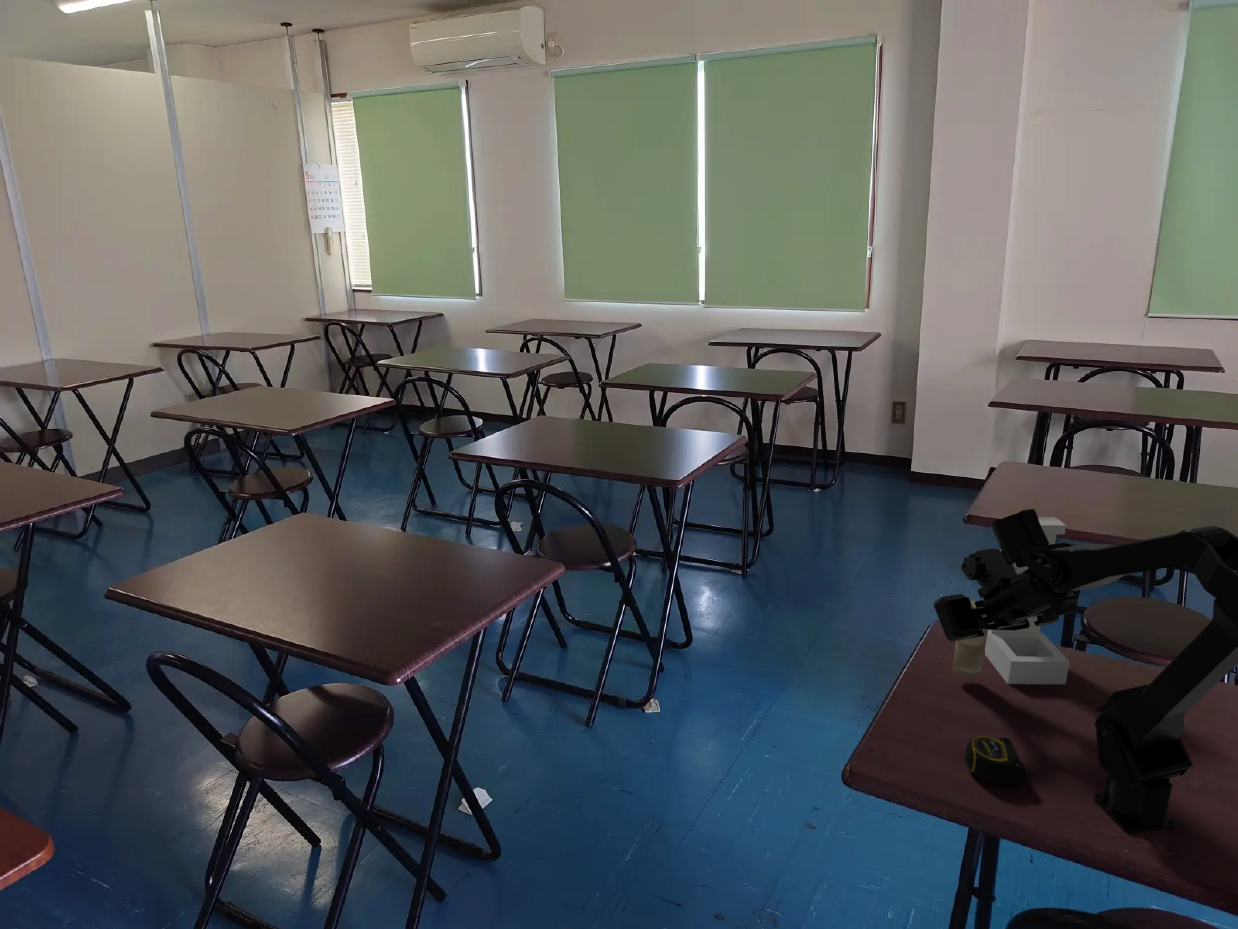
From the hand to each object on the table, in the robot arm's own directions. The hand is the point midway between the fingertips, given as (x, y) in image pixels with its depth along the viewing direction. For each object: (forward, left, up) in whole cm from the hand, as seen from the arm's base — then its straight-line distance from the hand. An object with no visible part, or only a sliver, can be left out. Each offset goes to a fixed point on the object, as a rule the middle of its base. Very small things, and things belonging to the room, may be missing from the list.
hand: (965, 627), depth 133 cm
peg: (-1, 0, -7) cm, 7 cm away
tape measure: (-22, +7, -9) cm, 25 cm away
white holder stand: (+1, -12, -9) cm, 15 cm away
